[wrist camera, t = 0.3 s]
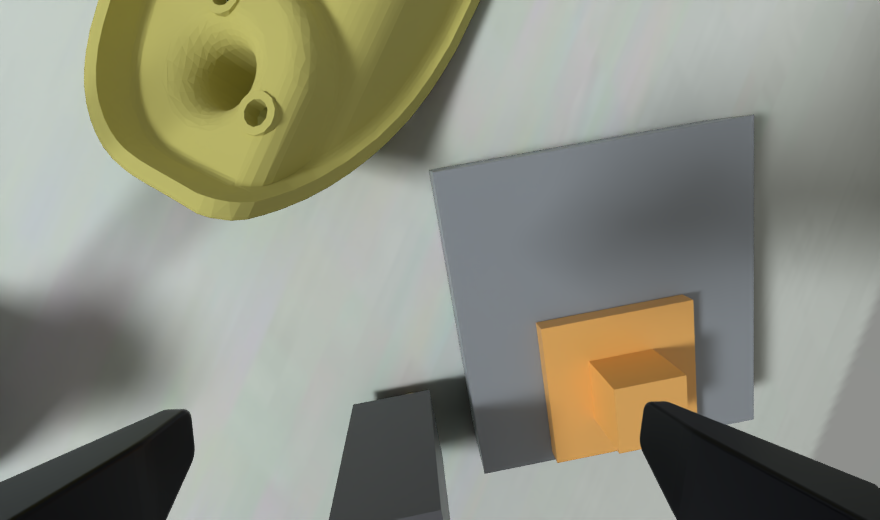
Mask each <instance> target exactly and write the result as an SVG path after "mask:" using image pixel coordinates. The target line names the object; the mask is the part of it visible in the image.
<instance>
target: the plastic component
mask: <svg viewBox="0 0 880 520" xmlns="http://www.w3.org/2000/svg"><path fill="white" fill-rule="evenodd" d="M479 2H480V0H229V1H228V2H226V0H99V1H98V4H97V7H96V11H95V14H94V18H93V21H92V25H91V28H90V33H89V38H88V43H87V48H86V56H85V67H84V88H85V96H86V104H87V108H88V112H89V116H90V119H91V122H92V125H93V127H94V130H95V132H96V134H97V136H98V138H99V140H100V142H101V144H102V146H103V147H104V148H105V150H106V151H107V152H108V153H109V155H110V156H111V157H112V159H113V160H115V161H116V162H117V163H118V164H119V165H120V166H121V167H122V168H124V169H125V170H126V171H127V172H129V173H130V174H132V175H133V176H135V177H136V178H138V179H139V180H141V181H143V182H144V183H146V184H148V185H149V186H151V187H153V188H155V189H156V190H158V191H160V192H162V193H163V194H165V195H167V196H169V197H170V198H172V199H174V200H175V201H177V202H179V203H180V204H182V205H184V206H185V207H187V208H189V209H190V210H192V211H194V212H195V213H197V214H200V215H203V216H206V217H209V218H216V219H223V220H230V221H233V220H245V219H250V218H254V217H258V216H262V215H265V214H268V213H271V212H274V211H278V210H281V209H283V208H286V207H288V206H290V205H293V204H295V203H298V202H300V201H303V200H305V199H307V198H309V197H311V196H313V195H315V194H316V193H318V192H320V191H322V190H324V189H326V188H328V187H329V186H331V185H332V184H334V183H336V182H337V181H339V180H340V179H342V178H343V177H345V176H346V175H348V174H349V173H351V172H352V171H353V170H355V169H356V168H357V167H359V166H360V165H361V164H363V163H364V162H365V161H367V160H368V159H369V158H370V157H371V156H373V155H374V154H375V153H376V152H377V151H378V150H379V149H381V148H382V147H383V146H384V145H385V144H386V143H387V142H388V141H389V140H390V139H391V138H392V137H393V136H394V135H395V134H396V133H397V132H398V131H399V130H400V129H401V128H402V127H403V126H404V125H405V123H406V122H407V121H408V120H409V119H410V118H411V117H412V116H413V114H414V113H415V112H416V110H417V109H418V108H419V106H420V105H421V104H422V102H423V101H424V100H425V99H426V97H427V96H428V95H429V93H430V92H431V90H432V89H433V87H434V86H435V84H436V83H437V81H438V79H439V78H440V76H441V75H442V73H443V72H444V70H445V68H446V66H447V65H448V63H449V61H450V60H451V58H452V56H453V55H454V53H455V51H456V49H457V47H458V45H459V43H460V41H461V39H462V37H463V35H464V33H465V31H466V29H467V27H468V25H469V23H470V21H471V18H472V16H473V14H474V12H475V10H476V8H477V6H478V4H479Z"/></svg>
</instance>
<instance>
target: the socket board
mask: <svg viewBox="0 0 880 520" xmlns="http://www.w3.org/2000/svg"><path fill="white" fill-rule="evenodd" d="M429 173H430V179H431V185H432V190H433V196H434V202H435V207H436V213H437V219H438V225H439V230H440V236H441V242H442V247H443V253H444V259H445V265H446V270H447V276H448V282H449V287H450V293H451V299H452V305H453V310H454V316H455V322H456V327H457V333H458V339H459V345H460V350H461V356H462V362H463V367H464V373H465V379H466V385H467V390H468V396H469V402H470V407H471V413H472V419H473V425H474V430H475V436H476V440H477V444H478V448H479V452H480V456H481V460H482V464H483V468H484V472H485V474H486V473H491V472H496V471H500V470H505V469H510V468H515V467H520V466H525V465H530V464H535V463H540V462H545V461H550V460H555V457H554V455H553V453H552V446H551V438H550V430H549V423H548V415H547V407H546V399H545V391H544V383H543V376H542V368H541V360H540V352H539V344H538V336H537V328H536V322H542V321H547V320H552V319H557V318H562V317H568V316H573V315H578V314H583V313H588V312H594V311H599V310H604V309H609V308H614V307H620V306H625V305H630V304H635V303H640V302H646V301H651V300H656V299H661V298H666V297H672V296H677V295H682V294H683V295H685V296H687V297H689V298H691V299H693V304H694V334H695V363H696V393H697V413H698V414H700V415H703V416H705V417H708V418H710V419H713V420H715V421H718V422H720V423H723V424H725V425H727V424H732V423H737V422H742V421H747V420H752V419H754V115H748V116H740V117H731V118H723V119H714V120H706V121H701V122H695V123H690V124H684V125H679V126H673V127H667V128H662V129H656V130H651V131H645V132H639V133H634V134H628V135H623V136H617V137H612V138H606V139H600V140H595V141H589V142H584V143H578V144H572V145H567V146H561V147H556V148H550V149H545V150H539V151H533V152H528V153H522V154H517V155H511V156H505V157H500V158H494V159H489V160H483V161H478V162H472V163H466V164H461V165H455V166H450V167H444V168H438V169H433V170H429Z"/></svg>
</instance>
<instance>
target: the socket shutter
mask: <svg viewBox="0 0 880 520" xmlns="http://www.w3.org/2000/svg"><path fill="white" fill-rule="evenodd" d="M536 328H537V336H538V344H539V352H540V360H541V368H542V376H543V383H544V391H545V399H546V407H547V415H548V423H549V430H550V438H551V446H552V453H553V455H554V457H555V459H556V461H557V463H560V462H565V461H570V460H574V459H579V458H584V457H589V456H594V455H599V454H604V453H609V452H614V451H618V452H619V454H620V453H625V452H630V451H634V450H639V449H641V446H640V431H641V424H642V416H643V410H644V406H645V404H646V403H648V402H651V401H667V402H670V403H673V404H675V405H678V406H680V407H683V408H685V409H688V410H690V411H693V412H695V413H697V393H696V363H695V334H694V304H693V299H691V298H689V297H687V296H685V295H683V294H682V295H677V296H672V297H666V298H661V299H656V300H651V301H646V302H640V303H635V304H630V305H625V306H620V307H614V308H609V309H604V310H599V311H594V312H588V313H583V314H578V315H573V316H568V317H562V318H557V319H552V320H547V321H542V322H536Z"/></svg>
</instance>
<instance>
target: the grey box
mask: <svg viewBox="0 0 880 520" xmlns="http://www.w3.org/2000/svg"><path fill="white" fill-rule="evenodd" d="M329 520H450V515H449V507H448V498H447V490H446V482H445V474H444V465H443V457H442V451H441V446H440V441H439V436H438V431H437V426H436V421H435V416H434V411H433V406H432V401H431V396H430V391H429V390H426V391H421V392H416V393H414V392H410V393H407V394H405V395H400V396H395V397H390V398H385V399H380V400H375V401H370V402H365V403H359V404H354V405H353V409H352V413H351V418H350V423H349V428H348V432H347V437H346V442H345V446H344V451H343V456H342V460H341V465H340V470H339V475H338V479H337V484H336V489H335V493H334V498H333V503H332V508H331V512H330V517H329Z"/></svg>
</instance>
